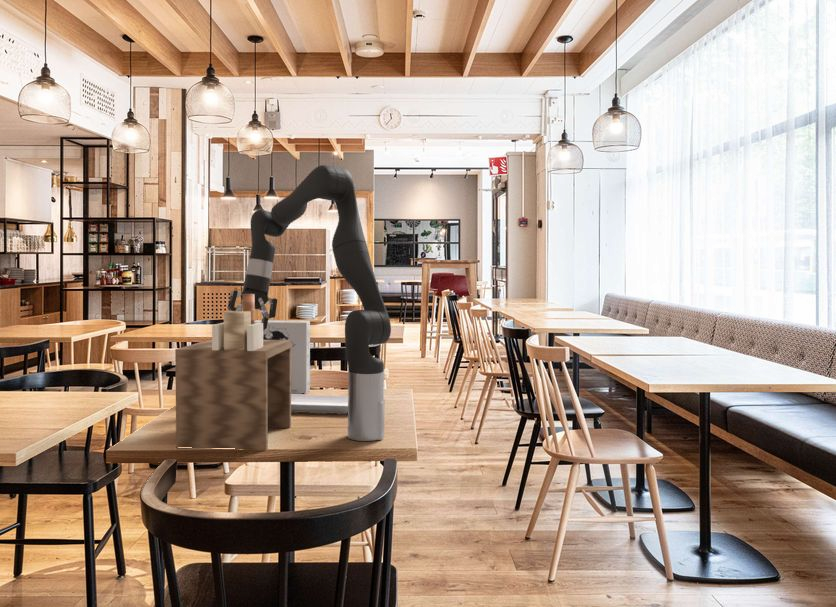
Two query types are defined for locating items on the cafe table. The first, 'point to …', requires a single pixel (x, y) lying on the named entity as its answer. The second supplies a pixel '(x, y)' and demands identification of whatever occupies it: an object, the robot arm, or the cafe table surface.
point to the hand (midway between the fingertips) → (248, 328)
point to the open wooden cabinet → (232, 395)
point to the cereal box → (294, 349)
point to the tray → (319, 403)
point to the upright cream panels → (252, 336)
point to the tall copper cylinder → (239, 324)
